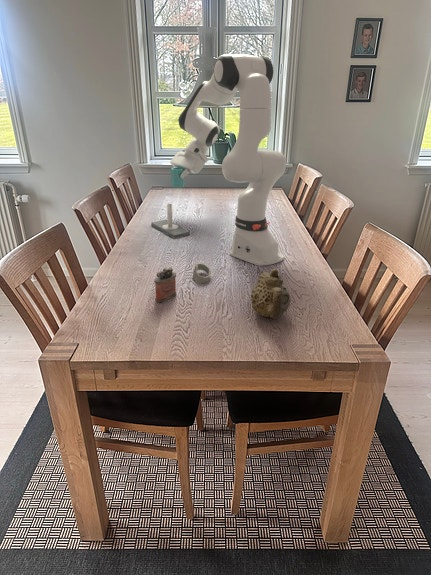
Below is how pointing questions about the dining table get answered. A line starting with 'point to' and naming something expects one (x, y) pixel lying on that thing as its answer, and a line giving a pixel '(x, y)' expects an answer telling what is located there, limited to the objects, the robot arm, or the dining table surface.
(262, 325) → the dining table surface
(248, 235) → the robot arm
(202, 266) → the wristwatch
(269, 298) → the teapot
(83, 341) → the dining table surface
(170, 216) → the post stand
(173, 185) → the collar
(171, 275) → the lighter
